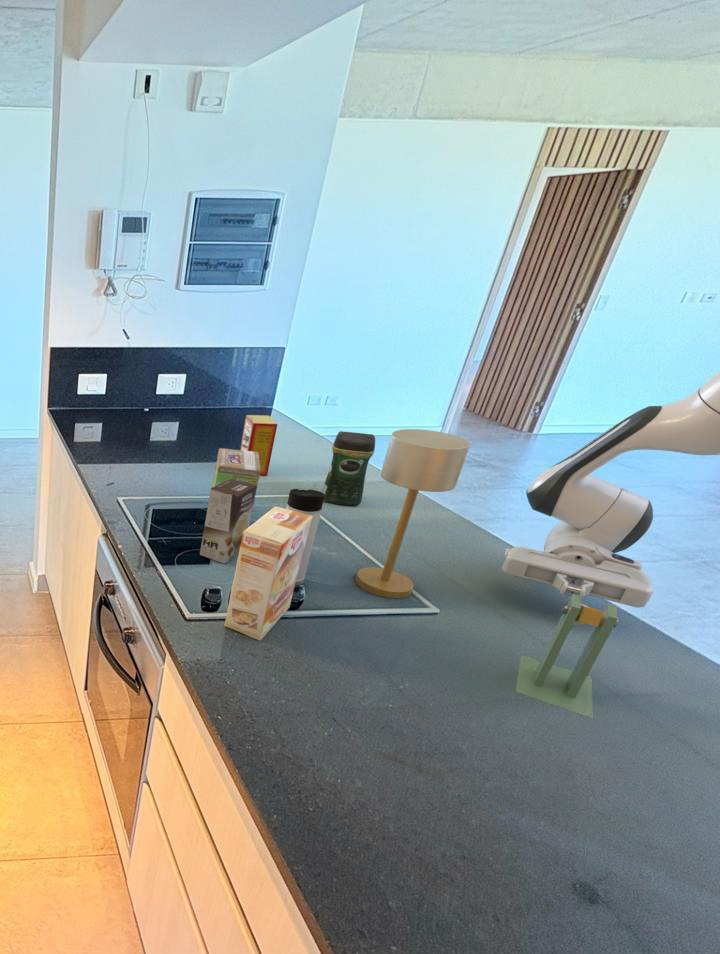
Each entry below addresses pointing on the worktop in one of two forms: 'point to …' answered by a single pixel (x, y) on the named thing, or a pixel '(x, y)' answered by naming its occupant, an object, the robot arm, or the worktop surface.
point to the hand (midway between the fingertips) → (572, 592)
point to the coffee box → (227, 519)
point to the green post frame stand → (560, 682)
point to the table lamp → (413, 493)
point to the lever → (588, 616)
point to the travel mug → (312, 506)
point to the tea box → (237, 466)
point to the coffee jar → (348, 468)
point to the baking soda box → (259, 438)
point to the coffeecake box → (267, 571)
